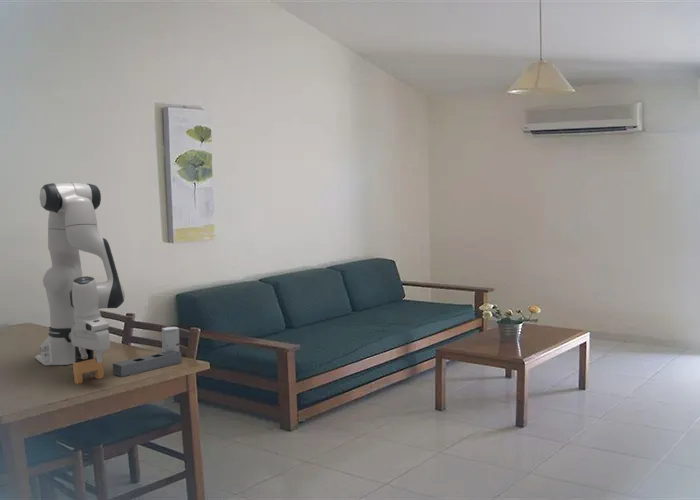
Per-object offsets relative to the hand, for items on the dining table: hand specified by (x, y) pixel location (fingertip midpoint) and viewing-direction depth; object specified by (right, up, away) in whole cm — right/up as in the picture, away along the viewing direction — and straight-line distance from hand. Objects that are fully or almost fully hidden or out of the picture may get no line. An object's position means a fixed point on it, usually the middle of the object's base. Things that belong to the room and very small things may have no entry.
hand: (91, 360), depth 256 cm
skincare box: (+20, -4, +32) cm, 38 cm away
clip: (-1, -7, +1) cm, 7 cm away
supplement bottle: (-9, -6, +19) cm, 22 cm away
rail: (+15, -5, +17) cm, 23 cm away
